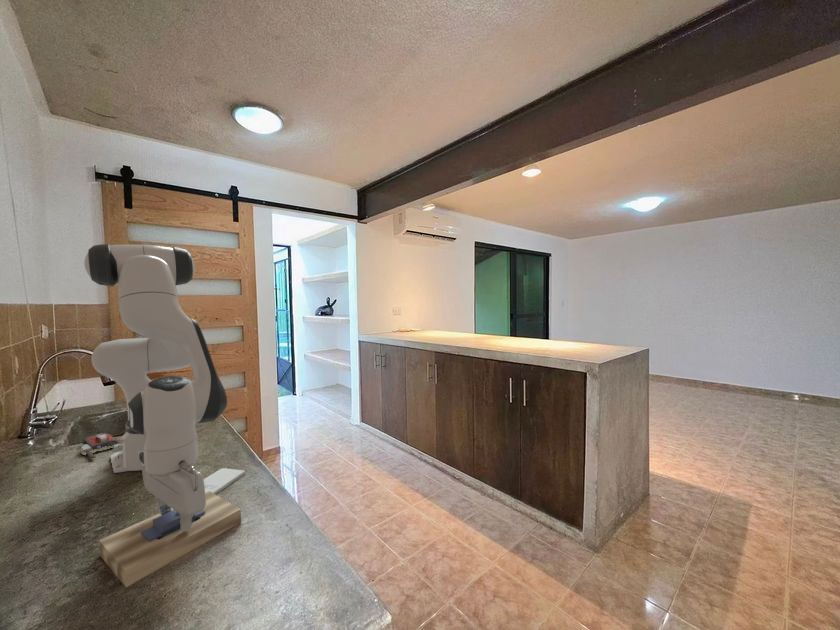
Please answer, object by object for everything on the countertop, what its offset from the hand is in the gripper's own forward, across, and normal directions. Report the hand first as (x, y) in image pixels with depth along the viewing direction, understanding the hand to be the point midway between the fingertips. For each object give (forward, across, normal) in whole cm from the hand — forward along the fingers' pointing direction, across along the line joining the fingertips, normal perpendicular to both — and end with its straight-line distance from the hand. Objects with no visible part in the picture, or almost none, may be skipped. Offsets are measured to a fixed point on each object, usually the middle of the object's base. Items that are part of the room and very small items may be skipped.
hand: (174, 520), depth 69 cm
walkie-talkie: (+4, +73, -6) cm, 73 cm away
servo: (+4, 0, 0) cm, 4 cm away
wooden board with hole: (+4, 0, 0) cm, 4 cm away
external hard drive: (+4, +15, -15) cm, 22 cm away
